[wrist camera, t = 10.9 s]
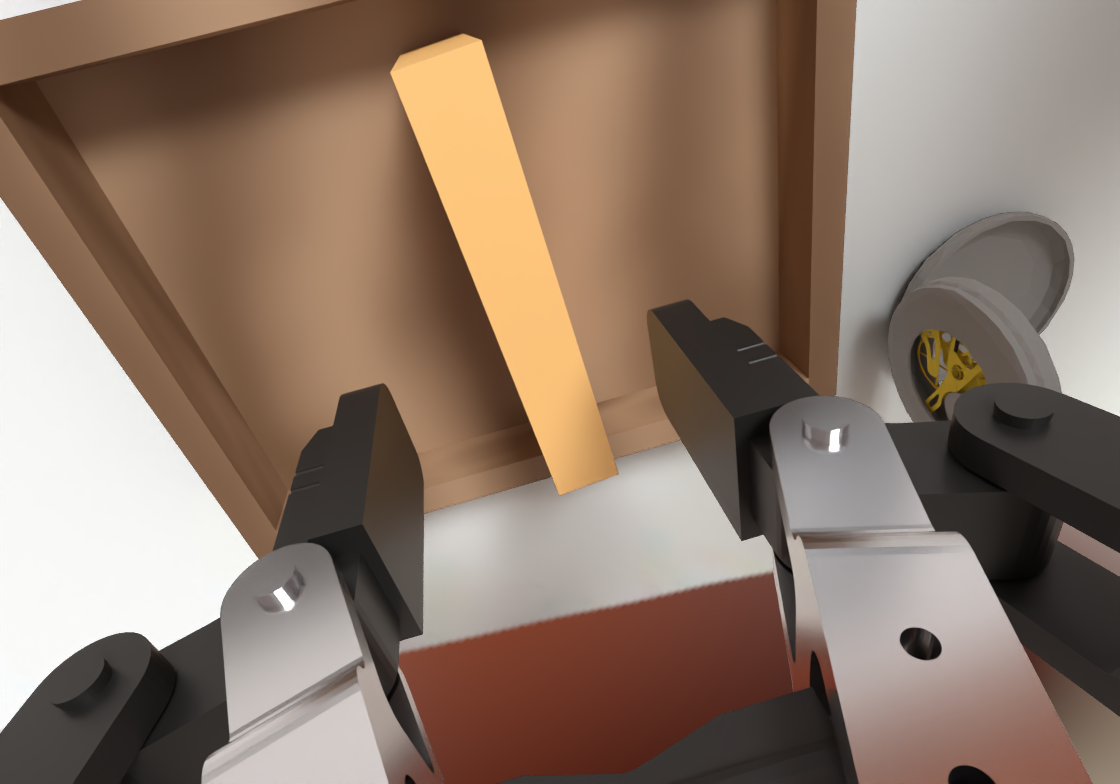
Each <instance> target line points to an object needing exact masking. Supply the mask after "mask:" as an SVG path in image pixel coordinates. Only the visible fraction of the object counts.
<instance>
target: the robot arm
mask: <svg viewBox="0 0 1120 784" xmlns="http://www.w3.org/2000/svg"><path fill="white" fill-rule="evenodd" d="M647 326H648V332H649V339H650V346H651V353H652V360H653V367H654V374H655V381H656V387H657V391H658V395H659V398H660V401H661V404H662V407H663V409H664V412H665V414H666V416H667V417H668V419H669V421H670V422H671V424H672V426H673V427H674V429H675V431H676V432H677V434H678V436H679V437H680V439H681V441H682V442H683V444H684V446H685V447H686V449H687V451H688V452H689V454H690V456H691V457H692V459H693V461H694V462H695V464H696V466H697V467H698V469H699V471H700V472H701V474H702V476H703V477H704V479H705V481H706V482H707V484H708V486H709V487H710V489H711V491H712V492H713V494H714V496H715V497H716V499H717V501H718V503H719V504H720V506H721V508H722V509H723V511H724V513H725V514H726V516H727V518H728V519H729V521H730V523H731V524H732V526H733V528H734V529H735V531H736V533H737V534H738V536H739V538H740V539H741V541H743V540H747V539H750V538H753V537H757V536H760V535H764V536H765V537H766V539H767V540H768V542H769V544H770V545H771V547H772V564H773V573H774V578H775V584H776V590H777V596H778V602H779V607H780V613H781V619H782V625H783V631H784V636H785V642H786V648H787V653H788V659H789V665H790V671H791V677H792V685H793V693H790V694H786V695H783V696H780V697H776V698H773V699H770V700H767V701H763V702H760V703H757V704H754V705H750V706H747V707H744V708H741V709H738V710H734V711H731V712H728V713H724V714H721V715H719V716H717V717H715V718H714V719H712V720H711V721H709V722H708V723H706V724H705V725H703V726H702V727H700V728H699V729H697V730H696V731H694V732H692V733H691V734H689V735H688V736H687V737H685V738H683V739H682V740H681V741H679V742H677V743H676V744H674V745H673V746H671V747H670V748H668V749H667V750H665V751H663V752H662V753H660V754H659V755H657V756H656V757H654V758H653V759H651V760H650V761H648V762H646V763H645V764H643V765H642V766H640V767H639V768H637V769H635V770H634V771H631V772H627V773H623V774H598V775H596V774H595V775H542V776H540V775H539V776H520V777H517V778H514V779H511V780H507V781H504V782H501V783H498V784H1093V783H1092V781H1091V779H1090V777H1089V775H1088V773H1087V771H1086V769H1085V767H1084V765H1083V763H1082V761H1081V759H1080V757H1079V755H1078V754H1077V751H1076V750H1075V748H1074V746H1073V744H1072V742H1071V740H1070V738H1069V736H1068V734H1067V732H1066V730H1065V728H1064V726H1063V724H1062V722H1061V720H1060V718H1059V716H1058V715H1057V713H1056V711H1055V709H1054V707H1053V705H1052V703H1051V701H1050V699H1049V697H1048V695H1047V693H1046V691H1045V689H1044V687H1043V686H1042V683H1041V682H1040V680H1039V678H1038V676H1037V674H1036V672H1035V670H1034V668H1033V666H1032V664H1031V662H1030V660H1029V658H1028V656H1027V654H1026V653H1025V650H1024V649H1023V647H1022V645H1024V646H1025V647H1026V648H1028V649H1029V650H1031V651H1032V652H1033V653H1035V654H1036V655H1037V656H1039V657H1040V658H1041V659H1043V660H1044V661H1045V662H1047V663H1048V664H1049V665H1051V666H1052V667H1053V668H1055V669H1056V670H1058V671H1059V672H1060V673H1062V674H1063V675H1064V676H1066V677H1067V678H1069V679H1070V680H1071V681H1072V682H1074V683H1075V684H1077V685H1078V686H1079V687H1080V688H1082V689H1083V690H1084V691H1086V692H1087V693H1089V694H1090V695H1091V696H1093V697H1094V698H1095V699H1097V700H1098V701H1099V702H1101V703H1102V704H1103V705H1105V706H1106V707H1108V708H1109V709H1110V710H1112V711H1113V712H1114V713H1115V714H1117V715H1118V716H1120V577H1119V576H1117V575H1116V574H1114V573H1112V572H1110V571H1109V570H1107V569H1105V568H1103V567H1102V566H1100V565H1098V564H1097V563H1095V562H1093V561H1091V560H1090V559H1088V558H1086V557H1085V556H1083V555H1081V554H1080V553H1078V552H1076V551H1074V550H1073V549H1071V548H1069V547H1068V546H1066V545H1064V544H1062V543H1061V542H1059V541H1057V539H1058V536H1059V534H1060V531H1061V528H1062V525H1063V522H1065V523H1067V524H1069V525H1070V526H1072V527H1074V528H1076V529H1077V530H1079V531H1081V532H1083V533H1085V534H1086V535H1088V536H1090V537H1092V538H1094V539H1095V540H1097V541H1099V542H1101V543H1103V544H1104V545H1106V546H1108V547H1110V548H1112V549H1114V550H1115V551H1117V552H1119V553H1120V417H1119V416H1117V415H1114V414H1112V413H1109V412H1107V411H1104V410H1102V409H1099V408H1097V407H1094V406H1092V405H1089V404H1087V403H1084V402H1082V401H1079V400H1077V399H1074V398H1072V397H1069V396H1067V395H1064V394H1062V393H1059V392H1056V391H1054V390H1051V389H1047V388H1043V387H1040V386H1035V385H1029V384H1021V383H992V384H986V385H981V386H978V387H974V388H972V389H970V390H967V391H966V392H964V393H963V394H961V395H960V396H959V397H958V398H957V400H956V402H955V404H954V409H953V414H952V419H951V420H949V421H932V422H915V423H884V422H883V420H882V419H881V417H880V416H879V415H878V414H877V413H876V412H875V411H873V410H872V409H871V408H869V407H867V406H866V405H864V404H862V403H859V402H857V401H854V400H851V399H847V398H842V397H836V396H820V395H819V394H818V393H817V392H816V391H815V390H814V389H813V388H812V387H811V386H810V385H809V384H808V383H806V382H805V381H804V380H803V379H802V378H801V377H800V376H799V375H798V374H797V373H796V372H795V371H794V370H793V369H792V368H791V367H790V366H789V365H788V364H787V363H786V362H785V361H784V360H783V359H782V358H781V357H780V356H779V357H777V355H776V353H775V352H774V351H773V350H772V349H771V348H770V347H769V346H768V345H767V344H764V341H763V340H762V339H761V338H760V337H759V336H758V335H757V334H756V333H755V332H754V331H753V330H752V329H751V328H749V327H748V326H746V325H743V324H741V323H738V322H736V321H733V320H730V319H728V318H725V317H723V318H719V319H715V320H712V321H710V320H709V319H708V318H707V317H706V316H705V315H704V314H703V313H702V312H701V311H700V310H699V309H698V308H697V306H696V305H695V304H694V303H693V302H692V301H691V300H689V299H686V300H682V301H678V302H675V303H671V304H668V305H664V306H660V307H657V308H653V309H650V310H648V312H647ZM295 473H296V476H294V478H293V482H292V485H291V489H290V491H291V494H289V496H288V499H287V503H286V506H285V509H284V513H283V516H282V520H281V523H280V527H279V530H278V534H277V537H276V541H275V544H274V547H273V551H272V552H270V553H269V554H267V555H265V556H263V557H262V558H260V559H259V560H257V561H256V562H254V563H253V564H252V565H251V566H249V567H248V568H247V569H246V570H245V571H244V572H243V573H242V574H241V575H240V576H239V577H238V578H237V579H236V580H235V581H234V583H233V584H232V585H231V587H230V588H229V590H228V591H227V593H226V595H225V597H224V599H223V602H222V606H221V612H220V618H218V619H217V620H215V621H213V622H212V623H210V624H208V625H206V626H204V627H202V628H201V629H199V630H197V631H195V632H193V633H191V634H189V635H188V636H186V637H184V638H182V639H180V640H178V641H176V642H175V643H173V644H171V645H169V646H167V647H165V648H164V649H162V650H160V651H158V650H157V649H156V648H155V647H154V646H153V645H152V644H151V643H150V642H149V641H148V639H147V638H146V637H144V636H142V635H141V634H138V633H134V632H125V633H118V634H114V635H111V636H108V637H105V638H103V639H100V640H98V641H96V642H94V643H92V644H90V645H88V646H86V647H84V648H83V649H81V650H80V651H78V652H76V653H75V654H73V655H72V656H71V657H69V658H68V659H67V660H65V661H64V662H63V663H62V664H60V665H59V666H58V667H57V668H56V669H55V670H53V671H52V672H51V673H50V674H49V675H48V676H47V677H46V678H45V679H44V680H43V681H42V683H41V684H40V685H39V686H38V687H37V688H36V689H35V691H34V692H33V693H32V694H31V696H30V697H29V698H28V699H27V701H26V702H25V703H24V704H23V706H22V707H21V708H20V709H19V711H18V712H17V713H16V714H15V716H14V717H13V718H12V719H11V721H10V722H9V723H8V724H7V726H6V727H5V728H4V729H3V731H2V732H1V733H0V784H445V782H444V779H443V776H442V774H441V771H440V768H439V766H438V763H437V761H436V758H435V755H434V753H433V750H432V747H431V745H430V742H429V739H428V737H427V734H426V731H425V729H424V726H423V723H422V721H421V718H420V716H419V713H418V710H417V708H416V705H415V703H414V700H413V697H412V694H411V692H410V689H409V687H408V684H407V681H406V679H405V676H404V675H403V673H402V671H401V669H400V668H399V666H398V659H399V641H402V640H405V639H408V638H412V637H415V636H419V635H422V634H423V548H424V479H423V473H422V468H421V464H420V460H419V457H418V454H417V452H416V449H415V447H414V445H413V442H412V440H411V438H410V435H409V433H408V431H407V429H406V426H405V424H404V422H403V420H402V417H401V415H400V413H399V410H398V408H397V406H396V404H395V401H394V399H393V397H392V395H391V392H390V391H389V389H388V387H387V386H386V385H385V384H384V383H381V384H377V385H373V386H370V387H366V388H363V389H359V390H355V391H352V392H348V393H345V394H342V395H341V396H340V398H339V402H338V406H337V410H336V415H335V419H334V423H333V426H330V427H326V428H323V429H319V430H318V431H317V432H316V434H315V435H314V436H313V437H312V439H311V440H310V441H309V442H308V444H307V445H306V446H305V447H304V449H303V450H302V451H301V454H300V458H299V461H298V465H297V468H296V471H295ZM1021 644H1022V645H1021Z"/></svg>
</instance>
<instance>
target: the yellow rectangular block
mask: <svg viewBox="0 0 1120 784" xmlns="http://www.w3.org/2000/svg"><path fill="white" fill-rule="evenodd" d="M390 73H391V76H392V78H393V81H394V83H395V86H396V88H397V91H398V93H399V96H400V98H401V101H402V103H403V106H404V108H405V111H406V113H407V116H408V118H409V121H410V123H411V126H412V128H413V131H414V133H415V136H416V138H417V141H418V143H419V146H420V148H421V151H422V153H423V156H424V158H425V161H426V163H427V166H428V168H429V171H430V173H431V176H432V178H433V181H434V183H435V186H436V188H437V191H438V193H439V196H440V198H441V201H442V203H443V206H444V208H445V211H446V213H447V216H448V218H449V221H450V223H451V226H452V228H453V231H454V233H455V236H456V238H457V241H458V243H459V246H460V248H461V251H462V253H463V256H464V258H465V261H466V263H467V266H468V268H469V271H470V273H471V276H472V278H473V281H474V283H475V286H476V288H477V291H478V293H479V296H480V298H481V301H482V303H483V306H484V308H485V311H486V313H487V316H488V318H489V321H490V323H491V326H492V328H493V331H494V333H495V336H496V338H497V341H498V343H499V346H500V348H501V351H502V353H503V356H504V358H505V361H506V363H507V366H508V368H509V371H510V373H511V376H512V378H513V381H514V383H515V386H516V388H517V391H518V393H519V396H520V398H521V401H522V403H523V406H524V408H525V411H526V413H527V416H528V418H529V421H530V423H531V426H532V428H533V431H534V433H535V436H536V438H537V440H538V443H539V445H540V448H541V450H542V453H543V455H544V458H545V460H546V463H547V465H548V468H549V470H550V473H551V475H552V478H553V480H554V483H555V485H556V488H557V490H558V493H559V495H562V494H565V493H568V492H570V491H573V490H576V489H579V488H581V487H584V486H587V485H590V484H593V483H595V482H598V481H601V480H604V479H606V478H609V477H612V476H615V475H618V471H617V467H616V464H615V461H614V458H613V455H612V452H611V448H610V445H609V442H608V439H607V436H606V433H605V429H604V426H603V423H602V420H601V417H600V414H599V410H598V407H597V404H596V401H595V398H594V395H593V391H592V388H591V385H590V382H589V379H588V375H587V372H586V369H585V366H584V363H583V360H582V356H581V353H580V350H579V347H578V344H577V341H576V337H575V334H574V331H573V328H572V325H571V322H570V318H569V315H568V312H567V309H566V306H565V303H564V299H563V296H562V293H561V290H560V287H559V284H558V280H557V277H556V274H555V271H554V268H553V265H552V261H551V258H550V255H549V252H548V249H547V246H546V242H545V239H544V236H543V233H542V230H541V227H540V223H539V220H538V217H537V214H536V211H535V208H534V204H533V201H532V198H531V195H530V192H529V189H528V185H527V182H526V179H525V176H524V173H523V170H522V166H521V163H520V160H519V157H518V154H517V151H516V147H515V144H514V141H513V138H512V135H511V132H510V128H509V125H508V122H507V119H506V116H505V113H504V109H503V106H502V103H501V100H500V97H499V94H498V90H497V87H496V84H495V81H494V78H493V75H492V71H491V68H490V65H489V62H488V59H487V56H486V52H485V49H484V46H483V43H482V40H480V39H477V38H474V37H471V36H469V35H466V34H463V33H460V34H457V35H454V36H451V37H449V38H446V39H443V40H440V41H437V42H434V43H432V44H429V45H426V46H423V47H420V48H417V49H415V50H412V51H409V52H406V53H403V54H401V55H400V56H399V58H398V60H397V61H396V63H395V65H394V67H393V68H392V70H391V72H390Z"/></svg>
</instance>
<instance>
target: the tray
mask: <svg viewBox="0 0 1120 784" xmlns="http://www.w3.org/2000/svg"><path fill="white" fill-rule="evenodd" d="M856 2H857V0H81V1H77V2H73V3H69V4H65V5H61V6H56V7H52V8H48V9H44V10H40V11H36V12H32V13H28V14H24V15H20V16H16V17H11V18H7V19H3V20H0V197H1V199H2V200H3V201H4V203H5V204H6V206H7V207H8V208H9V210H10V211H11V213H12V214H13V215H14V217H15V218H16V220H17V221H18V222H19V224H20V225H21V227H22V228H23V229H24V231H25V232H26V234H27V235H28V236H29V238H30V239H31V241H32V242H33V243H34V245H35V246H36V248H37V249H38V250H39V252H40V253H41V255H42V256H43V257H44V259H45V260H46V262H47V263H48V264H49V266H50V267H51V269H52V270H53V271H54V273H55V274H56V276H57V277H58V278H59V280H60V281H61V283H62V284H63V286H64V287H65V288H66V290H67V291H68V293H69V294H70V295H71V297H72V298H73V300H74V301H75V302H76V304H77V305H78V307H79V308H80V309H81V311H82V312H83V314H84V315H85V316H86V318H87V319H88V321H89V322H90V323H91V325H92V326H93V328H94V329H95V330H96V332H97V333H98V335H99V336H100V337H101V339H102V340H103V342H104V343H105V344H106V346H107V347H108V349H109V350H110V351H111V353H112V354H113V356H114V357H115V358H116V360H117V361H118V363H119V364H120V365H121V367H122V368H123V370H124V371H125V372H126V374H127V375H128V377H129V378H130V379H131V381H132V382H133V384H134V385H135V386H136V388H137V389H138V391H139V392H140V393H141V395H142V396H143V398H144V399H145V400H146V402H147V403H148V405H149V406H150V407H151V409H152V410H153V412H154V413H155V414H156V416H157V417H158V419H159V420H160V421H161V423H162V424H163V426H164V427H165V428H166V430H167V431H168V433H169V434H170V435H171V437H172V438H173V440H174V441H175V442H176V444H177V445H178V447H179V448H180V449H181V451H182V452H183V454H184V455H185V456H186V458H187V459H188V461H189V462H190V463H191V465H192V466H193V468H194V469H195V470H196V472H197V473H198V475H199V476H200V477H201V479H202V480H203V482H204V483H205V484H206V486H207V487H208V489H209V490H210V491H211V493H212V494H213V496H214V497H215V498H216V500H217V501H218V503H219V504H220V505H221V507H222V508H223V510H224V511H225V512H226V514H227V515H228V517H229V518H230V519H231V521H232V522H233V524H234V525H235V526H236V528H237V529H238V531H239V532H240V533H241V535H242V536H243V538H244V539H245V540H246V542H247V543H248V545H249V546H250V547H251V549H252V550H253V552H254V553H255V554H256V556H257V557H258V559H260V558H262V557H263V556H265V555H267V554H269V553H270V552H272V551H273V547H274V544H275V541H276V537H277V534H278V530H279V527H280V523H281V520H282V516H283V513H284V509H285V506H286V503H287V499H288V496H289V494H291V491H290V489H291V485H292V482H293V478H294V476H296V473H295V471H296V468H297V465H298V461H299V458H300V454H301V451H302V450H303V449H304V447H305V446H306V445H307V444H308V442H309V441H310V440H311V439H312V437H313V436H314V435H315V434H316V432H317V431H318V430H319V429H323V428H326V427H330V426H333V423H334V419H335V415H336V410H337V406H338V402H339V398H340V396H341V395H342V394H345V393H348V392H352V391H355V390H359V389H363V388H366V387H370V386H373V385H377V384H381V383H384V384H385V385H386V386H387V387H388V389H389V391H390V392H391V395H392V397H393V399H394V401H395V404H396V406H397V408H398V410H399V413H400V415H401V417H402V420H403V422H404V424H405V426H406V429H407V431H408V433H409V435H410V438H411V440H412V442H413V445H414V447H415V449H416V452H417V454H418V457H419V460H420V464H421V468H422V473H423V479H424V514H425V513H428V512H431V511H435V510H438V509H442V508H445V507H449V506H452V505H456V504H459V503H463V502H466V501H470V500H473V499H477V498H480V497H484V496H487V495H491V494H494V493H498V492H501V491H505V490H508V489H512V488H515V487H518V486H522V485H525V484H529V483H532V482H536V481H539V480H543V479H546V478H550V477H552V475H551V473H550V470H549V468H548V465H547V463H546V460H545V458H544V455H543V453H542V450H541V448H540V445H539V443H538V440H537V438H536V436H535V433H534V431H533V428H532V426H531V423H530V421H529V418H528V416H527V413H526V411H525V408H524V406H523V403H522V401H521V398H520V396H519V393H518V391H517V388H516V386H515V383H514V381H513V378H512V376H511V373H510V371H509V368H508V366H507V363H506V361H505V358H504V356H503V353H502V351H501V348H500V346H499V343H498V341H497V338H496V336H495V333H494V331H493V328H492V326H491V323H490V321H489V318H488V316H487V313H486V311H485V308H484V306H483V303H482V301H481V298H480V296H479V293H478V291H477V288H476V286H475V283H474V281H473V278H472V276H471V273H470V271H469V268H468V266H467V263H466V261H465V258H464V256H463V253H462V251H461V248H460V246H459V243H458V241H457V238H456V236H455V233H454V231H453V228H452V226H451V223H450V221H449V218H448V216H447V213H446V211H445V208H444V206H443V203H442V201H441V198H440V196H439V193H438V191H437V188H436V186H435V183H434V181H433V178H432V176H431V173H430V171H429V168H428V166H427V163H426V161H425V158H424V156H423V153H422V151H421V148H420V146H419V143H418V141H417V138H416V136H415V133H414V131H413V128H412V126H411V123H410V121H409V118H408V116H407V113H406V111H405V108H404V106H403V103H402V101H401V98H400V96H399V93H398V91H397V88H396V86H395V83H394V81H393V78H392V76H391V73H390V72H391V70H392V68H393V67H394V65H395V63H396V61H397V60H398V58H399V56H400V55H401V54H403V53H406V52H409V51H412V50H415V49H417V48H420V47H423V46H426V45H429V44H432V43H434V42H437V41H440V40H443V39H446V38H449V37H451V36H454V35H457V34H460V33H463V34H466V35H469V36H471V37H474V38H477V39H480V40H482V43H483V46H484V49H485V52H486V56H487V59H488V62H489V65H490V68H491V71H492V75H493V78H494V81H495V84H496V87H497V90H498V94H499V97H500V100H501V103H502V106H503V109H504V113H505V116H506V119H507V122H508V125H509V128H510V132H511V135H512V138H513V141H514V144H515V147H516V151H517V154H518V157H519V160H520V163H521V166H522V170H523V173H524V176H525V179H526V182H527V185H528V189H529V192H530V195H531V198H532V201H533V204H534V208H535V211H536V214H537V217H538V220H539V223H540V227H541V230H542V233H543V236H544V239H545V242H546V246H547V249H548V252H549V255H550V258H551V261H552V265H553V268H554V271H555V274H556V277H557V280H558V284H559V287H560V290H561V293H562V296H563V299H564V303H565V306H566V309H567V312H568V315H569V318H570V322H571V325H572V328H573V331H574V334H575V337H576V341H577V344H578V347H579V350H580V353H581V356H582V360H583V363H584V366H585V369H586V372H587V375H588V379H589V382H590V385H591V388H592V391H593V395H594V398H595V401H596V404H597V407H598V410H599V414H600V417H601V420H602V423H603V426H604V429H605V433H606V436H607V439H608V442H609V445H610V448H611V452H612V455H613V458H614V459H616V458H619V457H623V456H626V455H630V454H633V453H637V452H640V451H644V450H647V449H651V448H654V447H658V446H661V445H665V444H668V443H672V442H675V441H678V440H681V439H680V437H679V436H678V434H677V432H676V431H675V429H674V427H673V426H672V424H671V422H670V421H669V419H668V417H667V416H666V414H665V412H664V409H663V407H662V404H661V401H660V398H659V395H658V391H657V387H656V381H655V374H654V367H653V360H652V353H651V346H650V339H649V332H648V326H647V312H648V310H650V309H653V308H657V307H660V306H664V305H668V304H671V303H675V302H678V301H682V300H686V299H689V300H691V301H692V302H693V303H694V304H695V305H696V306H697V308H698V309H699V310H700V311H701V312H702V313H703V314H704V315H705V316H706V317H707V318H708V319H709V320H710V321H712V320H715V319H719V318H723V317H725V318H728V319H730V320H733V321H736V322H738V323H741V324H743V325H746V326H748V327H749V328H751V329H752V330H753V331H754V332H755V333H756V334H757V335H758V336H759V337H760V338H761V339H762V340H763V341H764V344H767V345H768V346H769V347H770V348H771V349H772V350H773V351H774V352H775V353H776V355H777V357H779V356H780V357H781V358H782V359H783V360H784V361H785V362H786V363H787V364H788V365H789V366H790V367H791V368H792V369H793V370H794V371H795V372H796V373H797V374H798V375H799V376H800V377H801V378H802V379H803V380H804V381H805V382H806V383H808V384H809V385H810V386H811V387H812V388H813V389H814V390H815V391H816V392H817V393H818V394H819V395H820V396H835V395H836V386H837V367H838V348H839V329H840V309H841V290H842V271H843V252H844V233H845V213H846V194H847V175H848V156H849V137H850V117H851V98H852V79H853V60H854V41H855V22H856Z"/></svg>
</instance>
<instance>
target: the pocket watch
mask: <svg viewBox="0 0 1120 784" xmlns="http://www.w3.org/2000/svg"><path fill="white" fill-rule="evenodd" d="M1073 266H1074V254H1073V248H1072V244H1071V241H1070V239H1069V237H1068V235H1067V233H1066V232H1065V231H1064V230H1063V229H1062V228H1061V227H1060V226H1059V225H1058V224H1057V223H1056V222H1054V221H1052V220H1050V219H1048V218H1046V217H1044V216H1040V215H1036V214H1032V213H1028V212H1025V213H1022V212H1012V213H1001V214H998V215H994V216H991V217H987V218H984V219H982V220H980V221H978V222H976V223H974V224H972V225H970V226H967V227H966V228H964V229H962V230H960V231H958V232H957V233H955V234H954V235H953V236H952V237H951V238H949V239H948V240H947V241H946V242H945V243H944V244H943V245H942V246H940V247H939V248H938V249H937V250H936V251H935V252H934V253H933V254H931V255H930V256H929V257H928V258H927V259H926V260H925V261H924V263H923V264H922V266H921V267H920V269H919V270H918V271H917V273H916V274H915V276H914V277H913V279H912V280H911V281H910V283H909V285H908V287H907V290H906V292H905V294H904V296H903V298H902V300H901V302H900V303H899V304H898V306H897V308H896V309H895V311H894V313H893V315H892V319H891V323H890V326H889V335H888V353H889V361H890V366H891V371H892V376H893V379H894V382H895V385H896V388H897V391H898V393H899V396H900V398H901V400H902V403H903V405H904V407H905V409H906V411H907V413H908V414H909V416H910V417H911V419H912V421H913V422H914V423H915V422H932V421H949V420H951V419H952V414H953V409H954V404H955V402H956V400H957V398H958V397H959V396H960V395H961V394H963V393H964V392H966V391H967V390H970V389H972V388H974V387H978V386H981V385H986V384H992V383H1021V384H1029V385H1035V386H1040V387H1043V388H1047V389H1051V390H1054V391H1056V392H1059V393H1062V392H1061V387H1060V381H1059V377H1058V374H1057V372H1056V369H1055V367H1054V364H1053V362H1052V360H1051V357H1050V355H1049V352H1048V350H1047V347H1046V345H1045V343H1044V342H1043V340H1042V339H1041V338H1040V336H1039V335H1040V334H1041V333H1042V332H1043V331H1044V330H1045V329H1046V327H1047V326H1048V325H1049V323H1050V321H1051V320H1052V318H1053V317H1054V315H1055V313H1056V312H1057V310H1058V309H1059V307H1060V306H1061V304H1062V302H1063V301H1064V299H1065V297H1066V294H1067V292H1068V289H1069V286H1070V283H1071V279H1072V275H1073ZM941 381H943V382H942V384H941Z"/></svg>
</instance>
